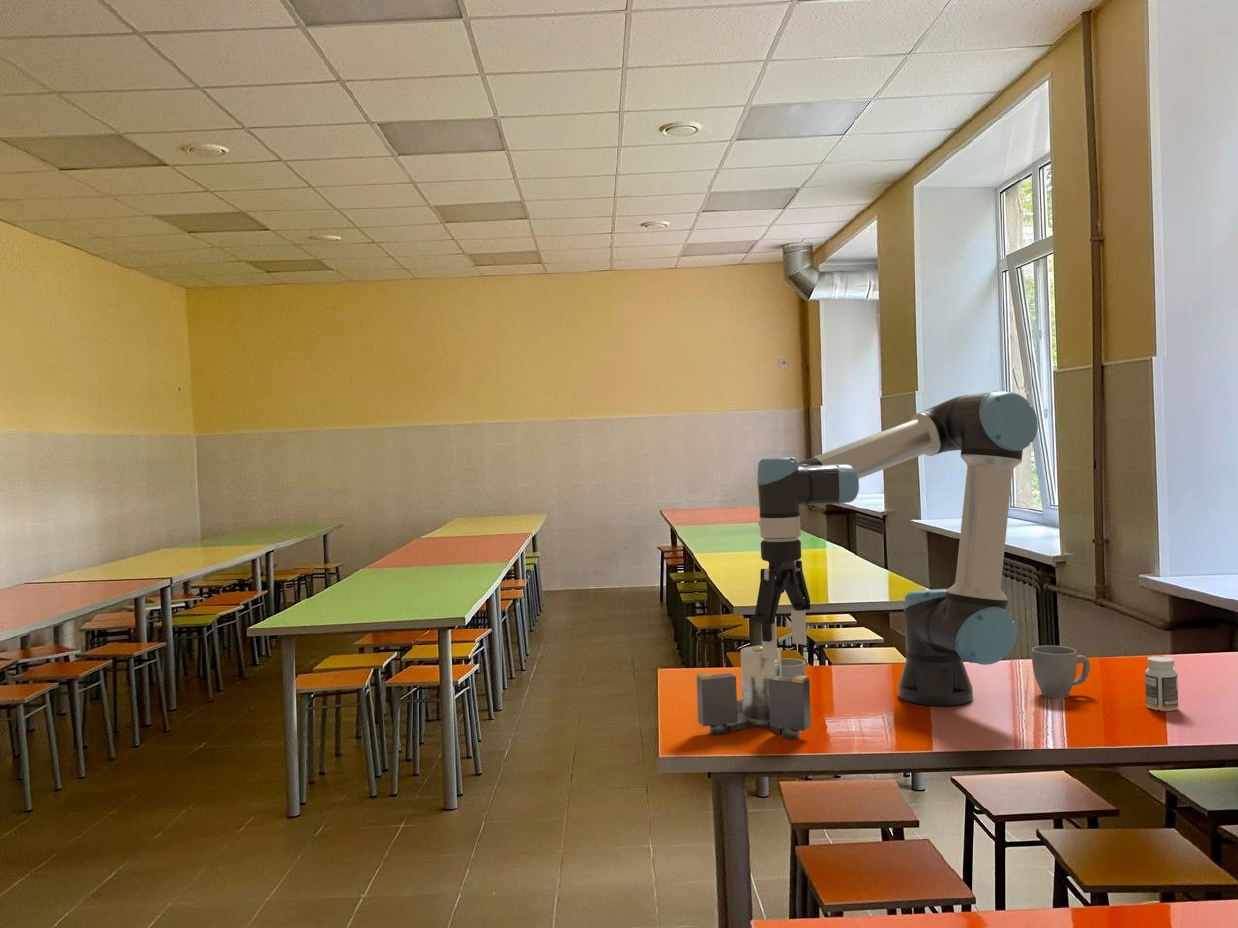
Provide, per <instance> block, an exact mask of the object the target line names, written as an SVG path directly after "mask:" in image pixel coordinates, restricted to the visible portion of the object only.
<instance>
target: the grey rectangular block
mask: <svg viewBox="0 0 1238 928" xmlns="http://www.w3.org/2000/svg"><path fill="white" fill-rule="evenodd" d="M768 680H769V709H770V726H772V727H779V728H782V734H781V736H782V739H785V740H797V739H799V738H800V731H802V732H805V731H806V730H807V731H808V729H810V728H811V726H812V721H811V696H810V695H811V694H810V688H811V687H810V676H809V675H805V676H803V675H798V676H796V677H794V678H792V677H782V676H773V677H772V678H770V679H768Z"/></svg>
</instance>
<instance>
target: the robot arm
mask: <svg viewBox="0 0 1238 928" xmlns="http://www.w3.org/2000/svg"><path fill="white" fill-rule="evenodd" d="M1038 429H1039V423H1038V416H1037V414H1036V411H1035V408H1034V407H1033V405H1031V403H1030V402H1029V400H1028V399H1027V398H1025V397H1024V396H1022V395H1021V394H1018V393H1016V392H1012V391H994V390H993V391H992V392H991V391H990V392H984V393H983V392H982V393H975V394H973V393H971V394H963V395H958V396H956V397H953V398H951V399H948V400H946V401H943V402H942V403H939V404H936V405H934V406H932V407H929V408H927V409H925V410H923V411H920V412H916V413H915V414H914V415H913V416H912V417H911V420H909V421H907V422H904V423H902V424H899V425H896V426H893V427H891V428H888V429H885V430H883V431H880V432H877V433H874V434H872V435H869V436H866V437H864V438H861V439H858V440H856V441H853V442H850V443H847V444H844V445H842V446H840V447H837V448H834V449H832V450H829V451H826V452H824V453H821V454H820V453H819V454H818V455H815V456H813V457H810V458H807V459H805V460H803V461H799V462H798V459H797V458H796V457H793V456H790V457H789V456H785V457H765V458H761V459H760V460H759V462H758V463H757V464H758V465H757V482H756V483H757V489H758V491H757V492H758V506H759V521H758V526H759V529H760V531H759V533H760V537H761V538H762V539H763V540H761V542H760V558H761V560H762V561H764V562H768V568H761V569H760V572H759V574H760V581H759V587H758V595H757V600H756V604H755V612H754V622H755V623H756V624H760V631H761V646H762V658H767V659H778V654H777V648H778V637H777V635H778V634H777V633H778V632H777V623H776V622H775V617H776V614H777V611H778V607H779V603H780V599H781V595H782V594H783V593H784V592H786V595H787V598H788V599H789V603H790V605H791V607H792V609H791V610H790V617H791V618H790V620H791V642H792V644H794V645H807V644H808V641H807V618H806V617H807V616H806V614H807V613H806V611H810V610H811V599H810V598H811V597H810V595H809V591H808V587H807V583H806V579H805V576H804V575H805V574H804V571H803V562H802V560H801V558H802V541H801V540H800V539H798V538H799V537H801V535H802V533H801V532H802V531H801V516H800V514H801V512H800V509H801V508H800V507H806V506H823V505H841V504H848V503H852V502H854V501H855V499H857V497H858V494H859V490H860V483H859V481H860V480H859V479H862V478H864V477H867V476H870V475H873V474H874V473H878V472H880V471H882V470H883V471H884V470H886V469H888V468H891V467H894V466H897V465H899V464H903V463H904V462H907V461H909V460H912V459H914V458H918V457H919V456H922V455H926V456H929V457H933V456H936V455H939V454H942V453H946V452H952V451H953V452H954V451H955V452H956V451H960V458H961V460H962V461H964V462H965V464H966V466H967V467H966V475H965V476H966V477H965V487H964V496H963V504H962V505H963V506H962V514H961V523H960V524H961V525H960V536H959V544H958V552H957V553H958V554H957V565H956V572H955V582H954V584H953V585H952V586H950V587H949V588H938V589H924V590H914V591H909V592H907V593H906V594H905V596H904V604H903V605H904V606H903V612H904V631H905V633H904V634H905V663H904V666H903V669H902V673H901V677H900V679H899V680H900V681H899V683H898V697H900V699H902V700H904V701H905V702H909V703H913V704H919V705H926V706H937V707H938V706H941V707H943V706H944V707H945V706H946V707H947V706H958V705H964V704H967V703H969V702H972V700H974V689H973V685H972V683H971V680H970V677H969V675H968V674H969V673H968V671H967V669H966V666H965V664H964V661H965V662H967V663H970V664H978V665H983V666H986V665H987V666H989V665H992V664H996V663H998V662H1000V661H1002V660H1003V659H1004V658H1005V657H1006V656H1008V655H1009V654H1010V652H1011V651H1012V649H1013V648H1014V646H1015V643H1016V641H1017V634H1018V629H1017V624H1016V621H1015V620H1014V619H1013V615H1011V614H1010V613H1009V612H1008V611H1007V609H1008V601H1009V600H1008V597H1007V596H1006V594H1005V593H1004V592H1003V590H1002V588H1001V587H1002V580H1003V579H1002V577H1003V569H1004V568H1003V567H1004V558H1005V547H1006V537H1007V531H1008V530H1007V529H1008V521H1009V518H1008V516H1009V510H1010V498H1011V490H1012V479H1013V470H1015V468H1016V467H1018V465H1020V464H1021V463H1022V460H1023V453H1024V450H1025V449H1026V448H1028V447H1029V446H1030V445H1031V443H1032V442H1034V440H1035V438H1036V437H1037V434H1038Z"/></svg>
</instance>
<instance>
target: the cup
mask: <svg viewBox="0 0 1238 928" xmlns="http://www.w3.org/2000/svg"><path fill="white" fill-rule="evenodd" d="M781 673H782V677H792V678H794V677H796V676H798V675H803V676H806V661H805V660H803V659H800V658H799V659H798V658H786V657H785V658H781Z"/></svg>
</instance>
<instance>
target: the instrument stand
mask: <svg viewBox="0 0 1238 928" xmlns="http://www.w3.org/2000/svg"><path fill="white" fill-rule="evenodd" d="M777 654H778V659H767V658H762V645H753V646H746V647H743V648H741V649H740V665H741V666H740V671H741V672H740V674H741V675H740V676H741V698H742V699H737V719H738V723H731V724H726V732H735V731H739V730H742V729H745V728H749V727H750V728H751V727H752V728H768V729H770V730H772V731H773V732H775V733H777V734H778V735H782V728H779V727H772V726H770V709H769V680H768V679H770V678H772V677H773V676H782V673H781V659H782V649H780V648H778V647H777Z"/></svg>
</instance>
